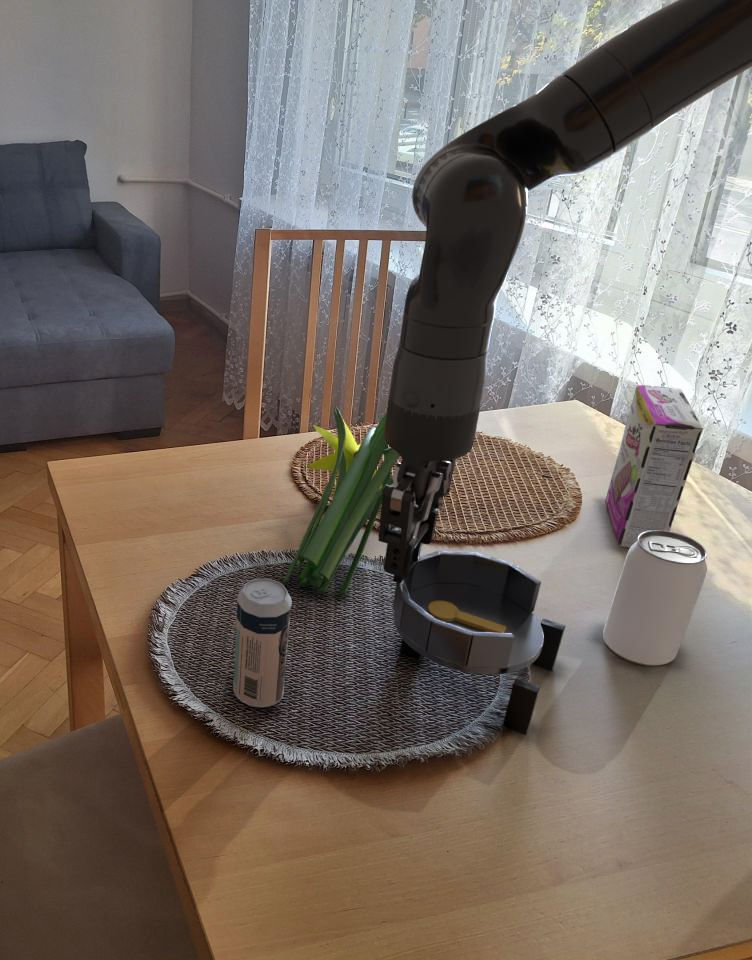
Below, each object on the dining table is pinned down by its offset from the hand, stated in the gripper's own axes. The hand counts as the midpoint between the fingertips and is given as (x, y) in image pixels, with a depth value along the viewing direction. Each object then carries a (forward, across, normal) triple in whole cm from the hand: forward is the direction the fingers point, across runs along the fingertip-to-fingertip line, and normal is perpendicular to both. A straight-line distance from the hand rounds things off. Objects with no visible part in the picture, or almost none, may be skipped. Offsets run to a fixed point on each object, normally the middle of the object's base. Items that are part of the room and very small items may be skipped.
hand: (408, 555), depth 82 cm
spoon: (+5, 0, -6) cm, 8 cm away
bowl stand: (+11, 0, -7) cm, 13 cm away
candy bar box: (+11, +37, -16) cm, 42 cm away
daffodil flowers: (+11, +18, +11) cm, 24 cm away
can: (+11, +13, -20) cm, 26 cm away
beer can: (+11, -14, +8) cm, 20 cm away
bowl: (+6, 0, -6) cm, 8 cm away
